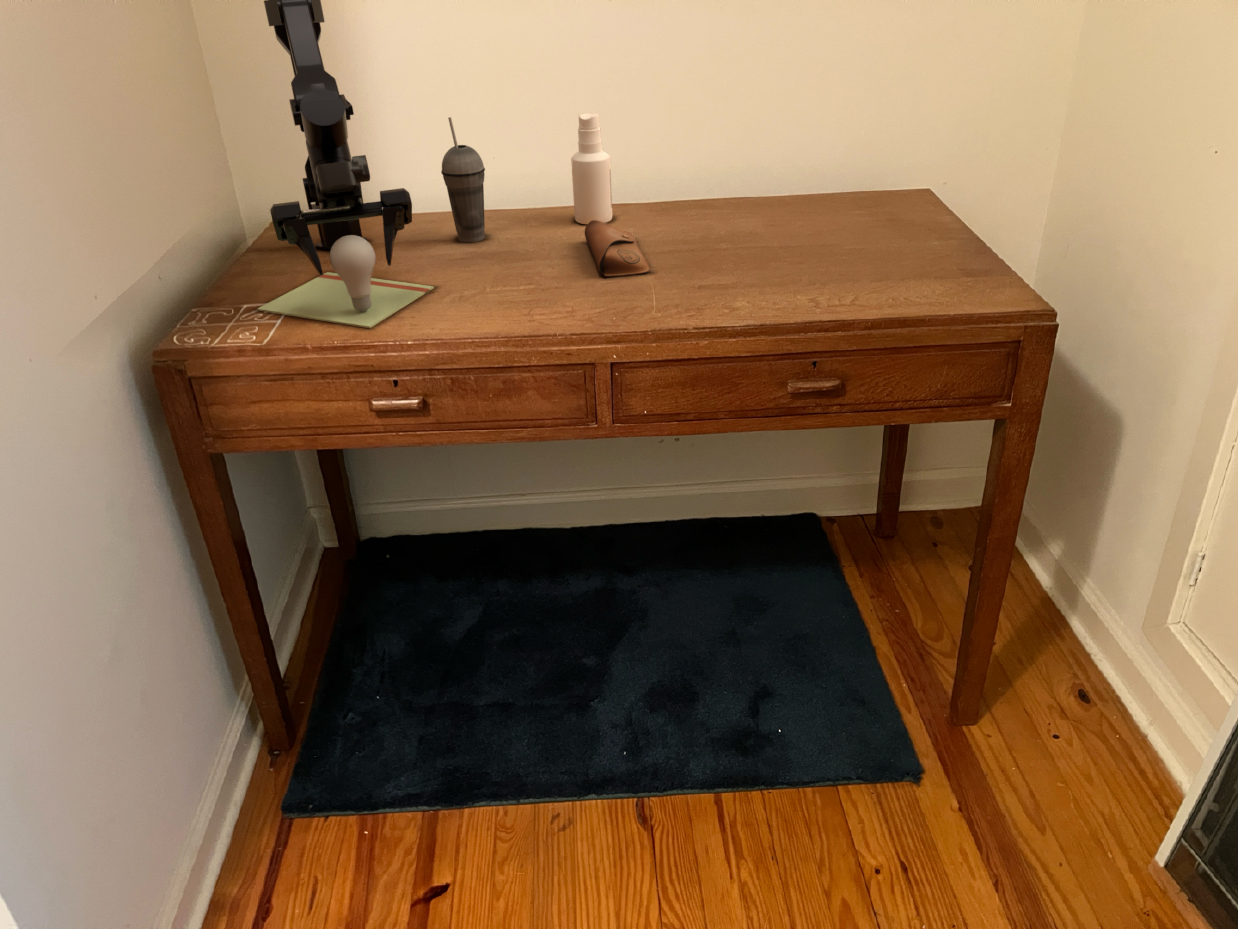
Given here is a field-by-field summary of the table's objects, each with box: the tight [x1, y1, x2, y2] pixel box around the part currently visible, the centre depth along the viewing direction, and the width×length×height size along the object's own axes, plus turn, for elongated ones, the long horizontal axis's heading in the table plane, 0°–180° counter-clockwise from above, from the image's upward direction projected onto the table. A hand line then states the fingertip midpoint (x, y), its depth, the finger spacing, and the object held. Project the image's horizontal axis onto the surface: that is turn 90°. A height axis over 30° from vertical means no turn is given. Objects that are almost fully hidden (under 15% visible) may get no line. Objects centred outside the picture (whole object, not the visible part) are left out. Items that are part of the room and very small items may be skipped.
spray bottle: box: [570, 112, 613, 225], centre depth 160 cm, size 7×7×18 cm
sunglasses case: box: [584, 220, 651, 278], centre depth 147 cm, size 18×7×7 cm
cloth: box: [257, 271, 435, 329], centre depth 136 cm, size 20×16×1 cm
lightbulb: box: [329, 235, 377, 312], centre depth 128 cm, size 6×6×11 cm
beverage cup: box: [441, 116, 486, 243], centre depth 153 cm, size 7×7×20 cm
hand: (355, 269), depth 126 cm, fingers open, 9 cm apart
